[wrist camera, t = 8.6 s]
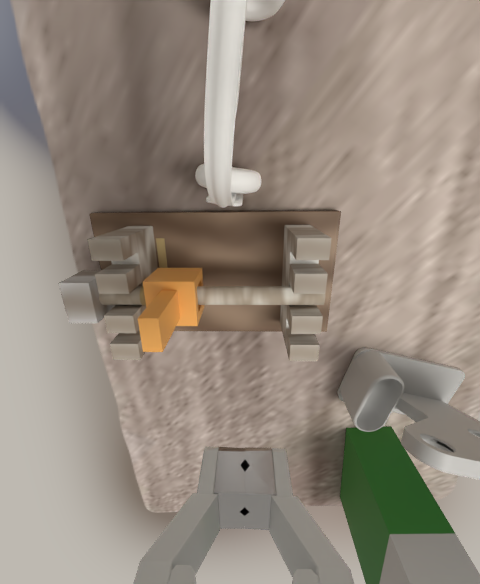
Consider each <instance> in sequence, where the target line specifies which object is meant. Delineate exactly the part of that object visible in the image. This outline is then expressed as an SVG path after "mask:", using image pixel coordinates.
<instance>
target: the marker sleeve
mask: <svg viewBox="0 0 480 584" xmlns="http://www.w3.org/2000/svg"><path fill="white" fill-rule="evenodd" d="M197 286H203V274H202V268H157V269H156V270H155V271H154V272H153V273H152V274H151V275H149V276H148V277H147V278H146V279H145V280H144V281H143V288H144V295H145V302H146V309H145V310H144V311H143V312H142V314H141V315H140V316H139V317H138V324H139V330H140V337H141V343H142V349H143V352H163V350H164V348H165V347H166V345H167V343H168V341H169V339H170V337H171V335H172V333H173V331H174V329H175V327H176V326H198V324H199V321H200V318H201V315H202V313H203V310H204V307H205V305H198V298H197Z"/></svg>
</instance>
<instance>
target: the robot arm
mask: <svg viewBox="0 0 480 584" xmlns="http://www.w3.org/2000/svg"><path fill="white" fill-rule="evenodd" d="M244 526H245V528H246V529H261V530H269V532H270V534H271V536H272V538H273V540H274V542H275V544H276V546H277V548H278V550H279V552H280V553H281V555H282V557H283V560H284V561H285V563H286V565H287V567H288V569H289V571H290V573H291V575H292V577H293V582H292V584H354V582H353V578H352V574H351V570H350V569H349V567H348V566H347V564H346V563H345V562H344V560H343V559H342V557H341V556H340V555H339V553H338V552H337V551H336V549H335V548H334V546H333V545H332V544H331V542H330V541H329V539H328V538H327V537H326V535H325V534H324V533H323V531H322V530H321V528H320V527H319V526H318V524H317V523H316V522H315V520H314V519H313V517H312V516H311V515H310V513H309V512H308V510H307V509H306V508H305V506H304V505H303V504H302V502H301V501H300V499H299V498H298V497H297V496H293V493H292V486H291V479H290V473H289V466H288V459H287V452H286V450H285V448H272V449H271V448H229V447H205V450H204V454H203V460H202V466H201V472H200V478H199V484H198V490H197V493H193V494H192V495H191V496H190V497H189V499H188V500H187V501H186V503H185V504H184V505H183V506H182V508H181V509H180V510H179V512H178V513H177V514H176V516H175V517H174V518H173V519H172V521H171V522H170V523H169V525H168V526H167V527H166V529H165V530H164V531H163V532H162V534H161V535H160V536H159V538H158V539H157V540H156V542H155V543H154V544H153V545H152V547H151V548H150V549H149V550H148V552H147V553H146V554H145V556H144V557H143V558H142V560H141V561H140V563H139V566H138V570H137V573H136V577H135V580H134V584H196V577H195V575H196V573H197V571H198V569H199V567H200V566H201V564H202V562H203V560H204V558H205V556H206V555H207V552H208V551H209V549H210V547H211V546H212V544H213V542H214V540H215V538H216V536H217V535H218V533H219V531H220V528H244Z"/></svg>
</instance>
